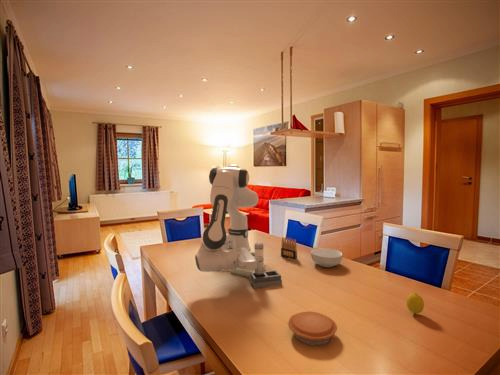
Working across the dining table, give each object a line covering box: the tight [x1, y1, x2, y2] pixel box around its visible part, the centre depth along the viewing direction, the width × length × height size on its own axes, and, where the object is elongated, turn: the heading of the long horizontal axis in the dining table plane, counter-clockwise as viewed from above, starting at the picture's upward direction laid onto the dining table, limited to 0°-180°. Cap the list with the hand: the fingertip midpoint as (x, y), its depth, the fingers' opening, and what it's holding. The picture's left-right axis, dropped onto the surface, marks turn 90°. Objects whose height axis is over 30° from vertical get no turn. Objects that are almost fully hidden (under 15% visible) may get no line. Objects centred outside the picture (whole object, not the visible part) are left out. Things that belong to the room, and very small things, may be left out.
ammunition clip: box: [280, 236, 298, 260], centre depth 168 cm, size 11×2×12 cm, turn 47°
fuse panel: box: [249, 269, 283, 289], centre depth 133 cm, size 13×9×4 cm
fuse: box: [254, 242, 265, 275], centre depth 132 cm, size 4×4×14 cm
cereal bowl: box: [310, 247, 343, 268], centre depth 155 cm, size 17×17×7 cm
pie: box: [287, 311, 338, 346], centre depth 92 cm, size 15×16×5 cm
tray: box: [230, 264, 266, 278], centre depth 147 cm, size 14×12×3 cm
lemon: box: [405, 292, 425, 315], centre depth 103 cm, size 6×6×8 cm
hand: (260, 256), depth 132 cm, fingers closed on fuse, 4 cm apart
